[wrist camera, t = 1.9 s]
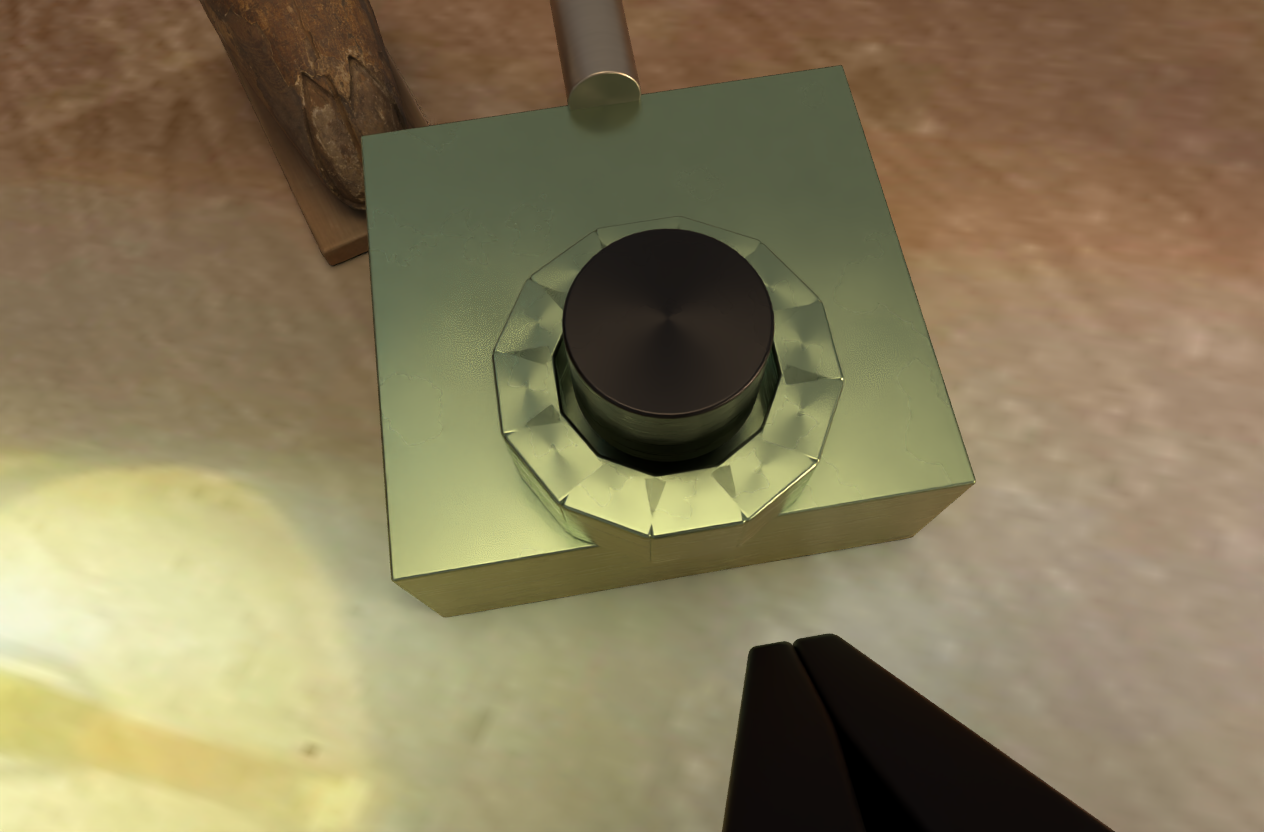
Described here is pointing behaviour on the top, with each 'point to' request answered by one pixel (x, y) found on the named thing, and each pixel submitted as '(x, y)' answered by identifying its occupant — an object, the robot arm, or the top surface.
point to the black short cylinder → (667, 343)
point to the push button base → (538, 366)
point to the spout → (595, 53)
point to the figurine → (318, 101)
